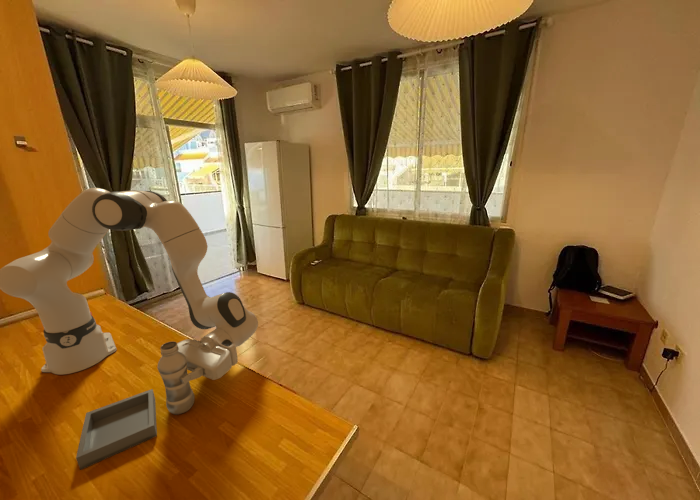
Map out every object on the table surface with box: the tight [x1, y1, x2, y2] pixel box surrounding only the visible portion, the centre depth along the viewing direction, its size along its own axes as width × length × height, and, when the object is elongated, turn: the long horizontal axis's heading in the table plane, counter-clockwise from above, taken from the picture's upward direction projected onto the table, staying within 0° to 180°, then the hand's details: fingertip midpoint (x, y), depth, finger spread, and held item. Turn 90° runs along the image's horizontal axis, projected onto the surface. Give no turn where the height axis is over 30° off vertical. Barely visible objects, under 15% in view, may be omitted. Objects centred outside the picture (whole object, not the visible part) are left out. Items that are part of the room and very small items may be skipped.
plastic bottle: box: [157, 340, 195, 415], centre depth 74 cm, size 6×7×20 cm
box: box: [75, 388, 158, 470], centre depth 71 cm, size 14×14×4 cm
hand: (171, 377), depth 73 cm, fingers closed on plastic bottle, 6 cm apart
